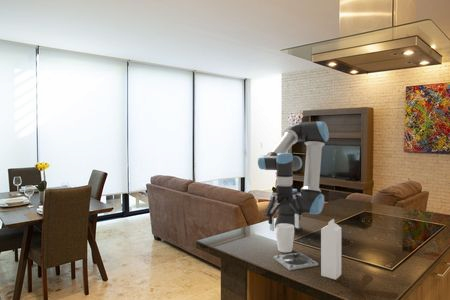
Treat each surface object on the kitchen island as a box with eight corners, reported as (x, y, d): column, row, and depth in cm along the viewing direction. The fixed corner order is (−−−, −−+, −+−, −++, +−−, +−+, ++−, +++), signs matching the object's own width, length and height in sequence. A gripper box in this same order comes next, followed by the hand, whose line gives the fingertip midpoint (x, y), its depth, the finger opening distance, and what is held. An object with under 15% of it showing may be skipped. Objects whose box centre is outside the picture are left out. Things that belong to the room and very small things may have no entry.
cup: (280, 254, 150) (280, 229, 150) (272, 248, 159) (272, 224, 159) (298, 252, 153) (297, 227, 152) (289, 246, 162) (289, 222, 161)
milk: (341, 274, 128) (342, 220, 127) (335, 280, 123) (336, 223, 122) (326, 270, 132) (327, 217, 131) (320, 275, 127) (320, 220, 126)
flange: (300, 254, 151) (300, 250, 151) (318, 265, 137) (318, 261, 137) (273, 258, 146) (273, 255, 146) (289, 270, 133) (289, 266, 133)
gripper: (302, 182, 162) (302, 224, 163) (257, 185, 154) (257, 229, 155) (311, 184, 155) (311, 228, 156) (264, 187, 147) (264, 233, 148)
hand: (284, 229), depth 155 cm, fingers open, 13 cm apart
